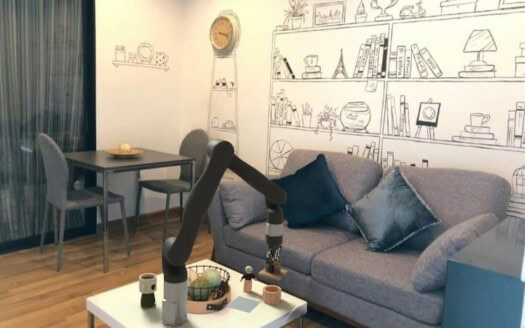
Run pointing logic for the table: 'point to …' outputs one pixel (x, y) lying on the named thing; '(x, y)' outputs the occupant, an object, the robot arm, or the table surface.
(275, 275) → the lid
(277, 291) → the bowl
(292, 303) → the table surface
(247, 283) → the grandmother figurine
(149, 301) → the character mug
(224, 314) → the table surface
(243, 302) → the mat
